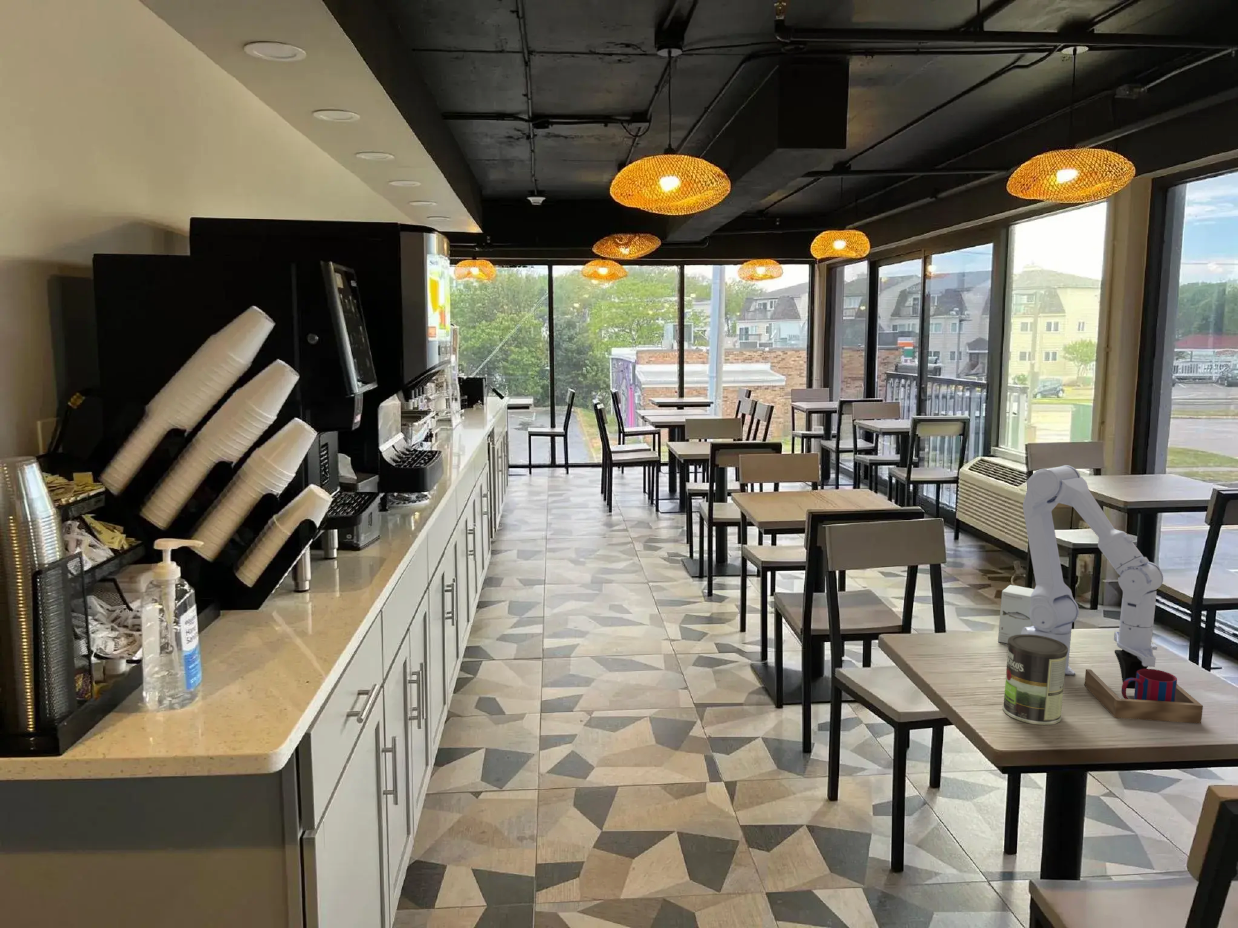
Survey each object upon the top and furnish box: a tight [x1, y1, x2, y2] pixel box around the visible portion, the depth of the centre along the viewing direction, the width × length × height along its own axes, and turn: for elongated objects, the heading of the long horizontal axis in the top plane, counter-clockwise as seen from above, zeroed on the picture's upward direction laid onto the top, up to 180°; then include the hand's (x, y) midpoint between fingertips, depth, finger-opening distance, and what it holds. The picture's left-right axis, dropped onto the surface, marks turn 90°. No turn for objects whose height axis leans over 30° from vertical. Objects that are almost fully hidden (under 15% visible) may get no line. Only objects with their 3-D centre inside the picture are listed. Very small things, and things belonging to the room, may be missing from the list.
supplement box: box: [997, 584, 1035, 644], centre depth 203 cm, size 7×7×13 cm
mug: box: [1121, 668, 1178, 702], centre depth 167 cm, size 7×10×7 cm
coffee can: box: [1002, 634, 1068, 726], centre depth 164 cm, size 10×10×14 cm
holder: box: [1084, 668, 1204, 724], centre depth 170 cm, size 15×16×4 cm
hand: (1129, 687), depth 174 cm, fingers closed
